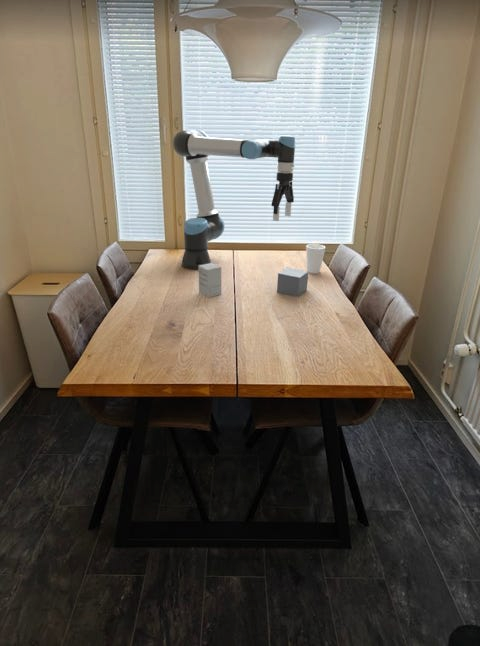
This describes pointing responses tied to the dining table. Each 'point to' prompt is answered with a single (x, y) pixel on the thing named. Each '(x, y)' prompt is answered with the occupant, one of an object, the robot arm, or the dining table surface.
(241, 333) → the dining table surface
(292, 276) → the grey square block
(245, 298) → the dining table surface
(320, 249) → the foam cup
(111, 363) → the dining table surface
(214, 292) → the supplement box
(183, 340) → the dining table surface
